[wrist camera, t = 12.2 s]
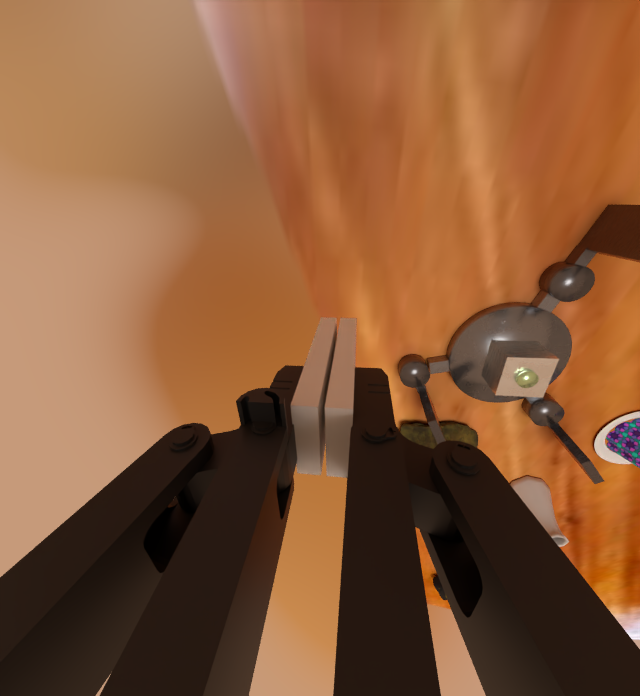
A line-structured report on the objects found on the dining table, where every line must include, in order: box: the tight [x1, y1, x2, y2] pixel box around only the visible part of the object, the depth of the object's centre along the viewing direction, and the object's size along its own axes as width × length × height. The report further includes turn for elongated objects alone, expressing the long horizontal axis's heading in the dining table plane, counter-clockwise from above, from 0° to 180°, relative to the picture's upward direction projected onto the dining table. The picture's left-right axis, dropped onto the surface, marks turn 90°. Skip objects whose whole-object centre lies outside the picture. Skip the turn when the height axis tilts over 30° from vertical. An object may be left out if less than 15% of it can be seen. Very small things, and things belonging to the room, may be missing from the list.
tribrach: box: [427, 205, 640, 484], centre depth 38 cm, size 36×25×9 cm
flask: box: [510, 476, 569, 547], centre depth 51 cm, size 7×7×10 cm
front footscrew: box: [398, 354, 446, 444], centre depth 43 cm, size 11×4×9 cm, turn 28°
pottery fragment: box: [400, 422, 478, 449], centre depth 52 cm, size 14×14×4 cm
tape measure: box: [433, 576, 448, 600], centre depth 72 cm, size 7×7×4 cm
